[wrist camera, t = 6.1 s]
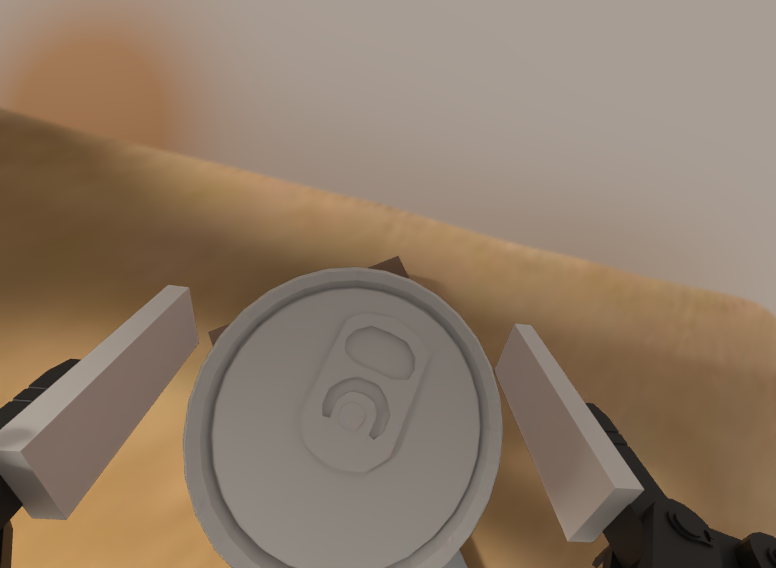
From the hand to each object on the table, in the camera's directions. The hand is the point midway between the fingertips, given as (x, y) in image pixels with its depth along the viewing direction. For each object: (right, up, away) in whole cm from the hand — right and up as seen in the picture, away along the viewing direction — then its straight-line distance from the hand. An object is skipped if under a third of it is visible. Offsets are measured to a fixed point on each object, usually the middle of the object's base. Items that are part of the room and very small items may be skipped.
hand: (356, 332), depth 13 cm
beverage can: (-1, -4, +6) cm, 8 cm away
